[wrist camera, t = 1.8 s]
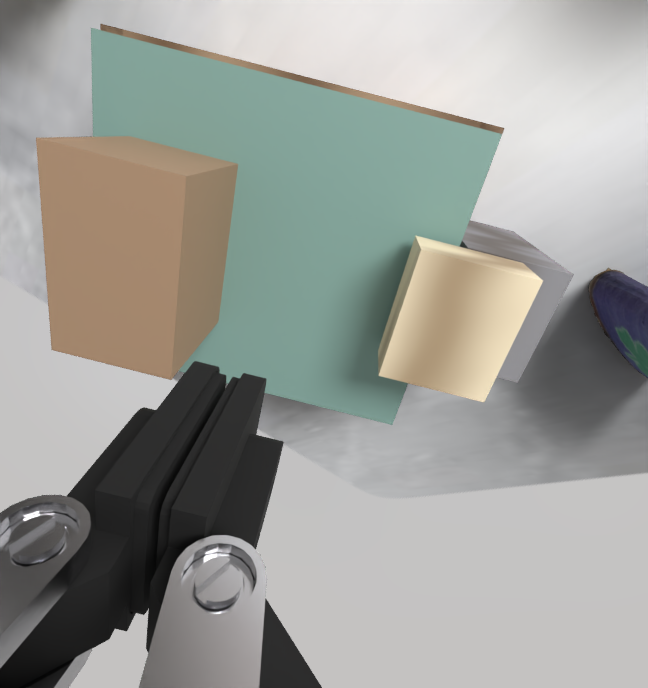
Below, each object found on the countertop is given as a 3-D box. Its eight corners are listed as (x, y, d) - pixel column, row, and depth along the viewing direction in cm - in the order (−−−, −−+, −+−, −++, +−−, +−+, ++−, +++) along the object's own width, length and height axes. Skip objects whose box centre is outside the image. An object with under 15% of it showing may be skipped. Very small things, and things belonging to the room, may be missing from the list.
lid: (494, 133, 19) (557, 134, 12) (391, 412, 26) (397, 506, 19) (107, 33, 19) (-33, -18, 12) (108, 341, 26) (19, 411, 19)
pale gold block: (523, 262, 19) (543, 280, 17) (472, 374, 22) (484, 402, 20) (415, 235, 19) (421, 249, 17) (378, 350, 22) (378, 375, 20)
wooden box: (548, 149, 26) (633, 158, 17) (453, 372, 33) (480, 454, 25) (176, 53, 26) (79, 15, 17) (162, 298, 33) (88, 356, 24)
